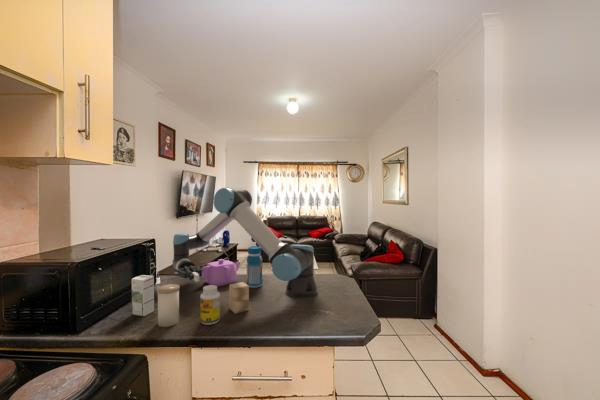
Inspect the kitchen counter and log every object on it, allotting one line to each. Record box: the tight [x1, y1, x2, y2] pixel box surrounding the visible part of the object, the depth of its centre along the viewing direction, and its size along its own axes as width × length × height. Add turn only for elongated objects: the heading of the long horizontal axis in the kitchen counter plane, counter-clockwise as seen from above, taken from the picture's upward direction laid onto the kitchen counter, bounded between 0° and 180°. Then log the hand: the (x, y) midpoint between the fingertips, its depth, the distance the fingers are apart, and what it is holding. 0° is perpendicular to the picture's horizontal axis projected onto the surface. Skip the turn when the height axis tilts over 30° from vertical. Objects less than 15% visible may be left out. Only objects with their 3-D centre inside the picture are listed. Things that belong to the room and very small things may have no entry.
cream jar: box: [156, 283, 180, 328], centre depth 101 cm, size 7×7×13 cm
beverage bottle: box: [245, 245, 264, 289], centre depth 144 cm, size 8×8×20 cm
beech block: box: [228, 281, 250, 314], centre depth 114 cm, size 6×6×10 cm
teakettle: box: [200, 258, 241, 287], centre depth 149 cm, size 17×17×12 cm
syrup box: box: [131, 274, 155, 317], centre depth 109 cm, size 6×6×14 cm
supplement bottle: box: [199, 284, 221, 326], centre depth 102 cm, size 7×7×13 cm
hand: (197, 278), depth 117 cm, fingers closed
